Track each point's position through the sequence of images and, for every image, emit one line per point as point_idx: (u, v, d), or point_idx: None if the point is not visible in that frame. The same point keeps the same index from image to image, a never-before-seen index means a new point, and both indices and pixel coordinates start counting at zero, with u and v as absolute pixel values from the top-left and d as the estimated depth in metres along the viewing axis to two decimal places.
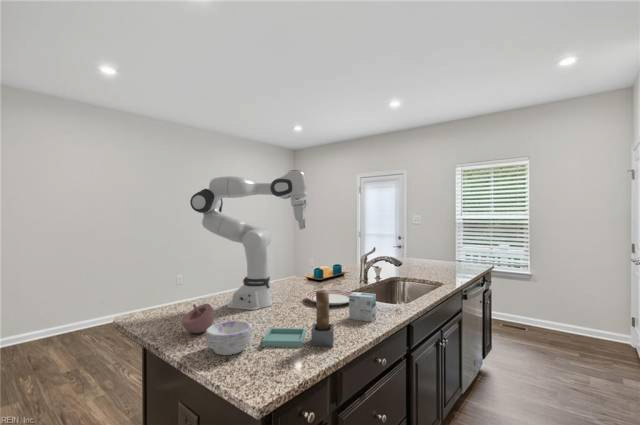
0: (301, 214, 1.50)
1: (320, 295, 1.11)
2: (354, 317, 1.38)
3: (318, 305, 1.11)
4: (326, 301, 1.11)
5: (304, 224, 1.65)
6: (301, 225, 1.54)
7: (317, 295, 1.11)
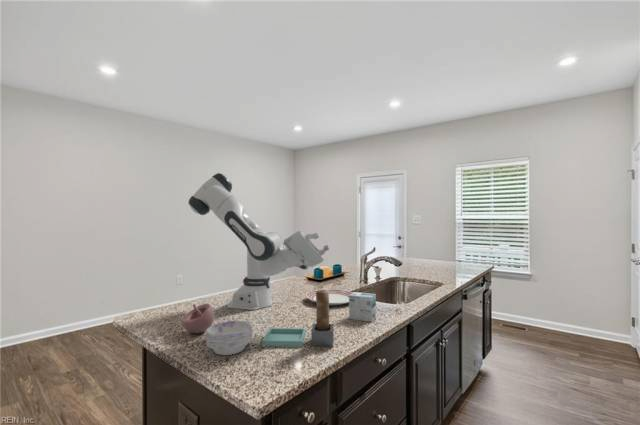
0: None
1: (320, 295, 1.11)
2: (354, 317, 1.38)
3: (318, 305, 1.11)
4: (326, 301, 1.11)
5: (313, 237, 1.27)
6: None
7: (317, 295, 1.11)
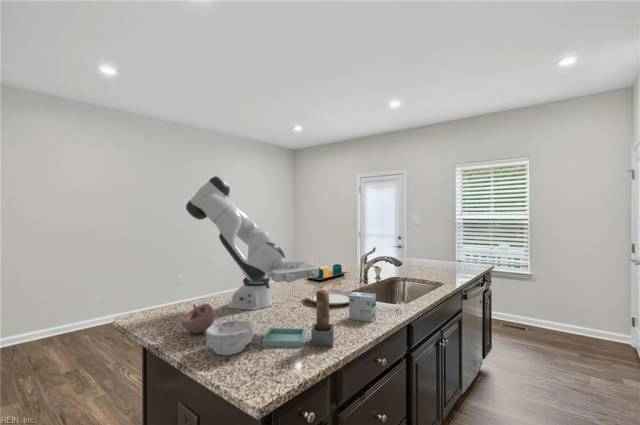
0: None
1: (320, 295, 1.10)
2: (354, 317, 1.38)
3: (318, 305, 1.11)
4: (326, 301, 1.11)
5: None
6: None
7: (317, 295, 1.11)
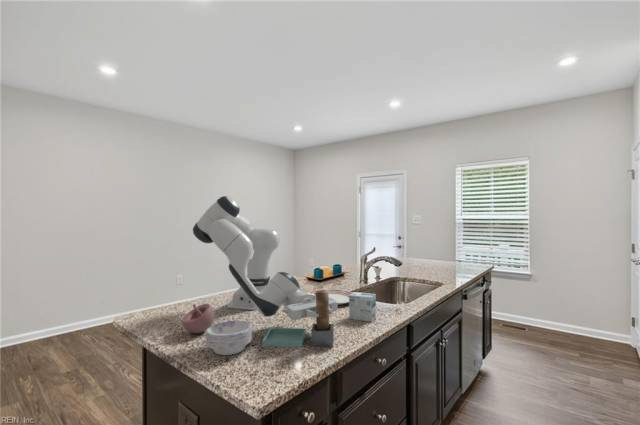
0: None
1: (320, 295, 1.11)
2: (354, 317, 1.38)
3: (317, 305, 1.11)
4: (326, 301, 1.11)
5: None
6: None
7: (317, 295, 1.11)
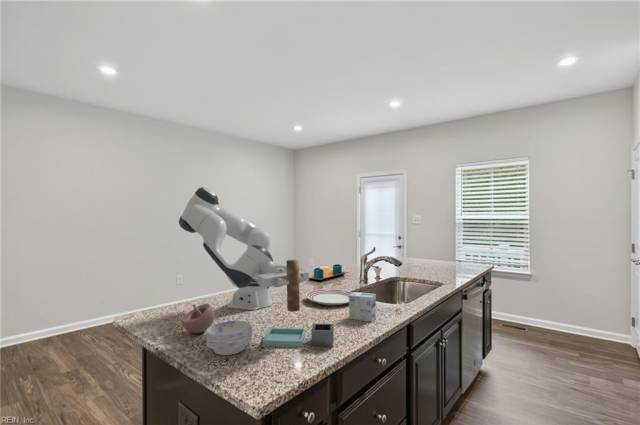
0: None
1: (290, 263, 1.14)
2: (354, 317, 1.38)
3: (288, 273, 1.14)
4: (296, 269, 1.14)
5: None
6: None
7: (287, 263, 1.14)
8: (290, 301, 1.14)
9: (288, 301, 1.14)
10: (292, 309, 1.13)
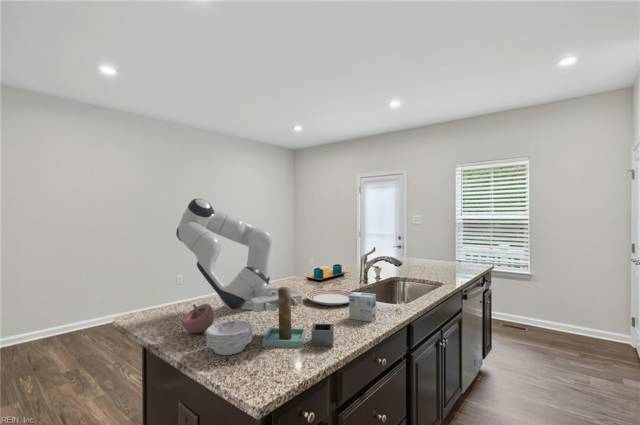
0: None
1: (281, 291, 1.14)
2: (354, 317, 1.38)
3: (279, 302, 1.14)
4: (287, 297, 1.14)
5: None
6: None
7: (279, 292, 1.15)
8: (282, 330, 1.14)
9: (280, 330, 1.14)
10: (283, 338, 1.13)
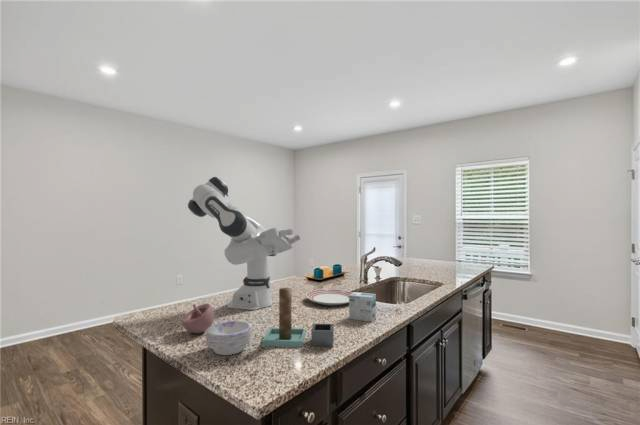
0: None
1: (282, 292, 1.14)
2: (354, 317, 1.38)
3: (280, 302, 1.14)
4: (288, 298, 1.14)
5: None
6: None
7: (280, 292, 1.15)
8: (282, 330, 1.14)
9: (280, 330, 1.14)
10: (283, 338, 1.13)
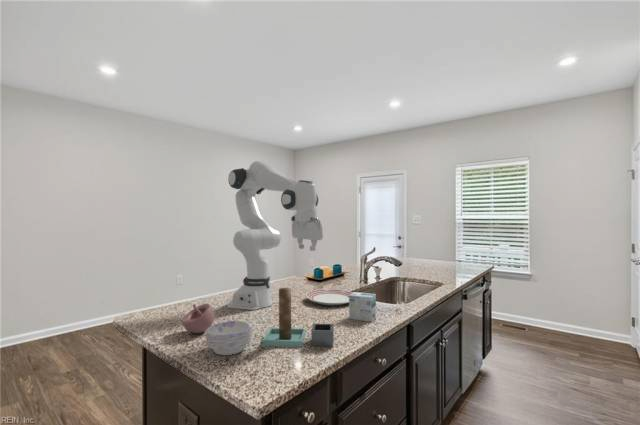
0: None
1: (282, 292, 1.14)
2: (354, 317, 1.38)
3: (280, 302, 1.14)
4: (288, 298, 1.14)
5: None
6: None
7: (279, 292, 1.14)
8: (282, 330, 1.14)
9: (280, 330, 1.14)
10: (284, 338, 1.13)
